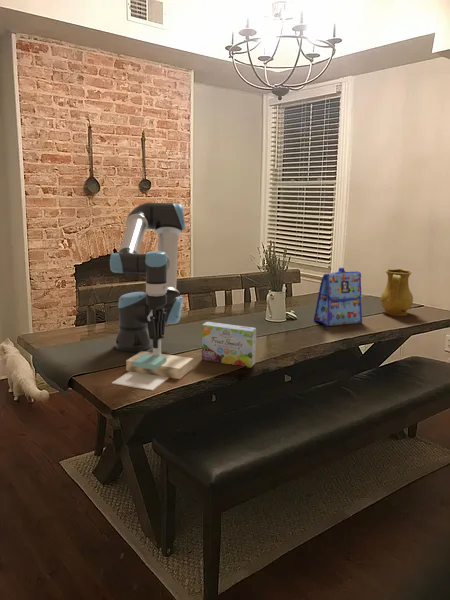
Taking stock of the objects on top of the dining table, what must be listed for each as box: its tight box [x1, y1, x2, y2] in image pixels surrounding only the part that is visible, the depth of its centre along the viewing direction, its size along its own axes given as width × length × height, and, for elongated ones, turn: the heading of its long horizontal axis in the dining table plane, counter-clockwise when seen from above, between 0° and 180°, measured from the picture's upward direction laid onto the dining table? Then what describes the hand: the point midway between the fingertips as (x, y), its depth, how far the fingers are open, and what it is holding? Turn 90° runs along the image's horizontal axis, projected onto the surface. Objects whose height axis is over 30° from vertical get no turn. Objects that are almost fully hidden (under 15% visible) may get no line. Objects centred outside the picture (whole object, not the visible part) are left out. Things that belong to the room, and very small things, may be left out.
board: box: [125, 350, 194, 380], centre depth 191 cm, size 22×12×4 cm, turn 70°
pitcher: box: [379, 268, 414, 317], centre depth 281 cm, size 17×19×25 cm
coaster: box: [133, 354, 167, 370], centre depth 185 cm, size 9×9×2 cm
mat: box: [111, 371, 169, 391], centre depth 180 cm, size 16×12×1 cm
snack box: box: [201, 321, 257, 368], centre depth 199 cm, size 21×6×15 cm, turn 69°
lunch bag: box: [313, 267, 363, 327], centre depth 261 cm, size 22×14×29 cm, turn 114°
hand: (157, 355), depth 190 cm, fingers closed
